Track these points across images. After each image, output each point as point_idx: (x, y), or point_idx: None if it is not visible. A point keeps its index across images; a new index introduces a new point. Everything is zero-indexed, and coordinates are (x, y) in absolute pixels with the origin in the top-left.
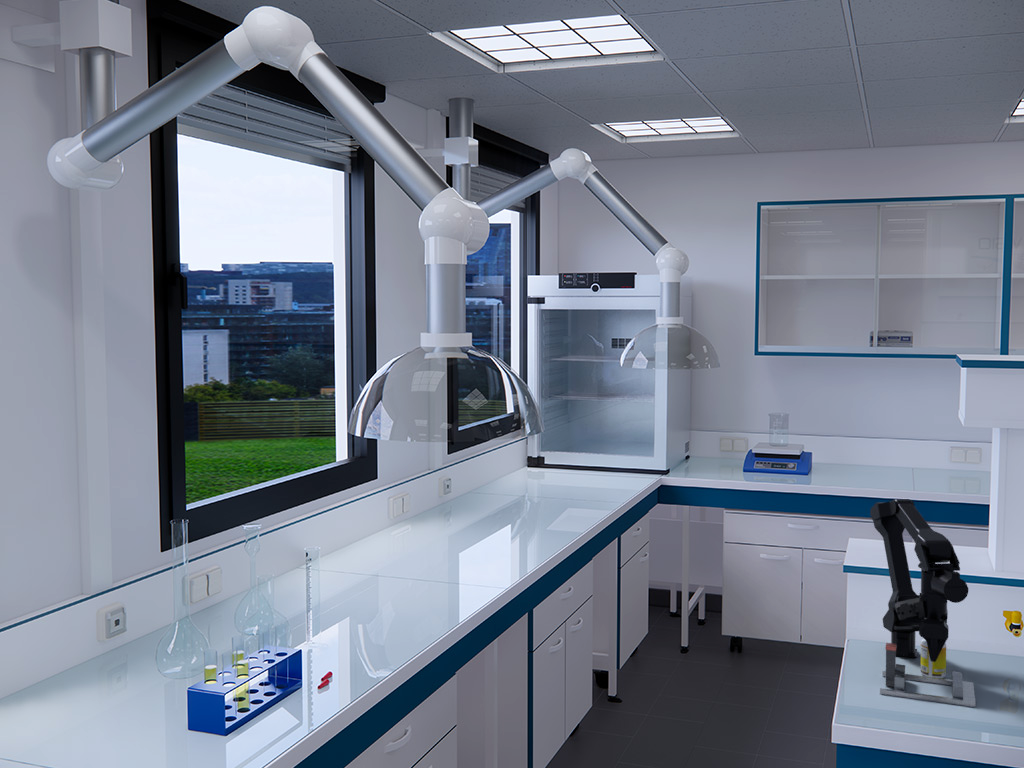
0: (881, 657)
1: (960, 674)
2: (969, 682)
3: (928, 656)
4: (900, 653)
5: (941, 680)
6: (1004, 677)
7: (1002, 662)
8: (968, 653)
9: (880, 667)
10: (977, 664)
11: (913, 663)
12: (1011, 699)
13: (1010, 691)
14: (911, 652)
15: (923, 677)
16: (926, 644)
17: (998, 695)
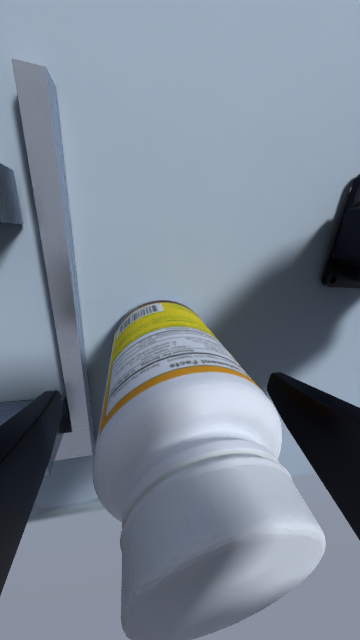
0: (334, 129)
1: None
2: (87, 447)
3: (109, 380)
4: (347, 223)
5: (63, 376)
6: None
7: (301, 459)
8: (356, 403)
9: (191, 96)
10: (284, 426)
11: (273, 272)
12: (38, 514)
13: None
14: (353, 269)
15: (55, 313)
16: (112, 439)
17: (53, 492)
